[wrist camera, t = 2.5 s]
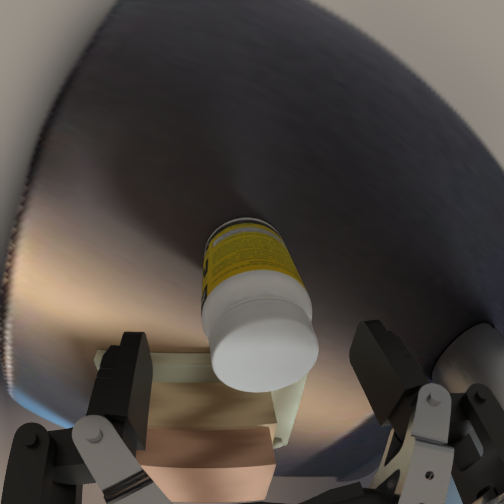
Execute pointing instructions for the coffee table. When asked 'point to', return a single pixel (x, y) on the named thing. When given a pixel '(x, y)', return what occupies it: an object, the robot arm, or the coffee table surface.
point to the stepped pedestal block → (212, 431)
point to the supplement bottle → (255, 309)
